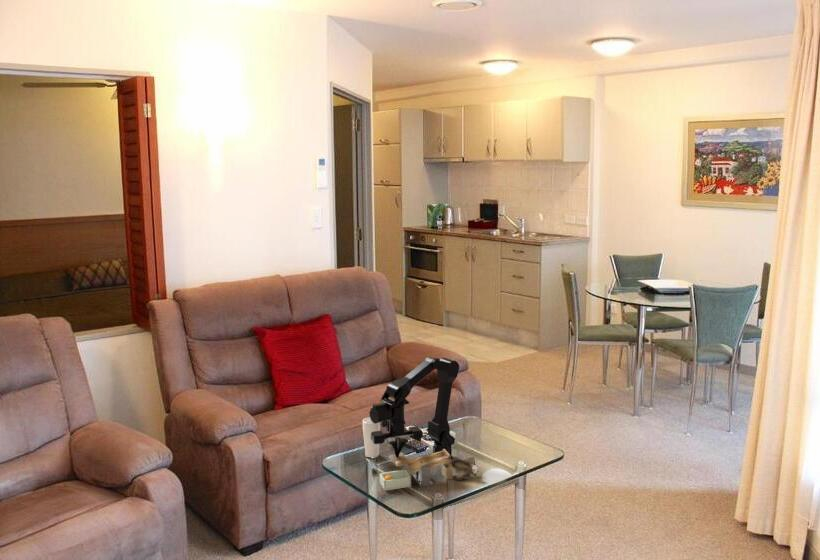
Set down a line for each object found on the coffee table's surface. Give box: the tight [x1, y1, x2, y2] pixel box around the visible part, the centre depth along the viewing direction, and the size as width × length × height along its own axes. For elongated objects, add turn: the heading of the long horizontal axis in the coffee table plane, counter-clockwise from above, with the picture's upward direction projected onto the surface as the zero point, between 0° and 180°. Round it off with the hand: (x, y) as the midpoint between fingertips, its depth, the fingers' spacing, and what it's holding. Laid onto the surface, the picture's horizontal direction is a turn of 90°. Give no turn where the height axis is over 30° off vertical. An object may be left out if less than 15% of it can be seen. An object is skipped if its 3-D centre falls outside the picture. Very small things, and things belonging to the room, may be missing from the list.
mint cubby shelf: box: [378, 469, 412, 492], centre depth 264 cm, size 10×7×4 cm
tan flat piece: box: [388, 449, 452, 474], centre depth 269 cm, size 20×14×3 cm
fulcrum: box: [412, 456, 454, 488], centre depth 268 cm, size 13×9×7 cm
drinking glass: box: [362, 416, 381, 459], centre depth 286 cm, size 7×7×15 cm
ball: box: [384, 475, 393, 481], centre depth 263 cm, size 3×3×3 cm
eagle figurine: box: [450, 458, 479, 481], centre depth 269 cm, size 8×7×9 cm
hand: (396, 456), depth 272 cm, fingers closed, pressing on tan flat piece
